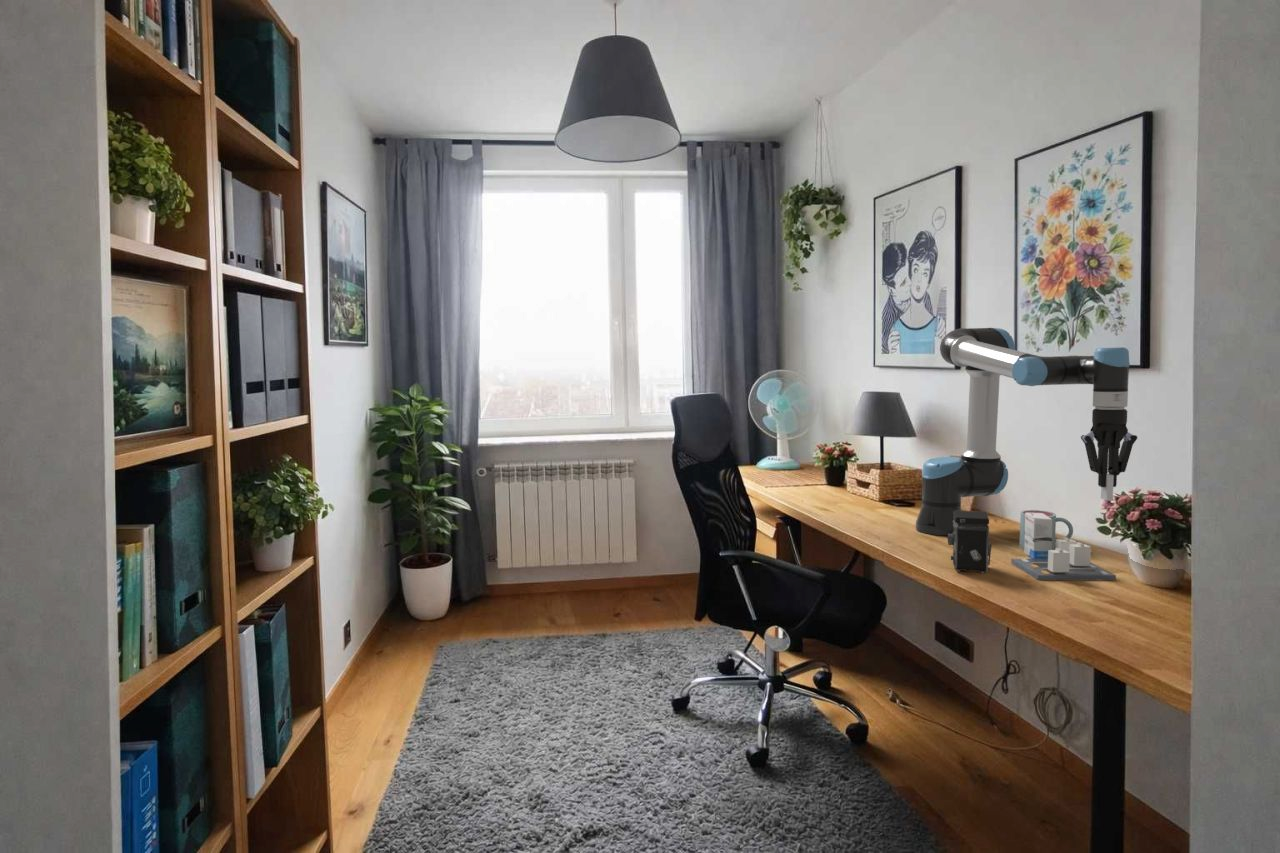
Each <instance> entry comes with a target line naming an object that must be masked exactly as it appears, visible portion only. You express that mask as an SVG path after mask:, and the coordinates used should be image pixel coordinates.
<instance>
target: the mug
mask: <svg viewBox="0 0 1280 853" xmlns="http://www.w3.org/2000/svg"><path fill="white" fill-rule="evenodd" d="M1025 513H1043V514H1045V515H1046V516H1048V517H1049V518H1051V519H1052V550H1055V548H1056V539H1059V538H1058V537H1056V526H1057V525H1056V524H1057V523H1058V522H1060V523H1063V524H1065V525H1066V527H1067V528H1068V533H1067V535H1066V536H1065V537H1066V538H1068V539H1072V536H1073V534H1074V526H1073V525H1072V523H1071V521H1069V520H1068V519H1066V518H1064V517H1057V514H1056V513H1054V512H1051V511H1047V510H1046V511H1045V510H1038V509H1027V510H1021V511H1020V512H1019V514H1020V516H1019V517H1020V520H1019V521H1020V522H1019V545H1020V546H1019V547H1020V548H1023V549H1024V547H1025ZM1061 539H1063V537H1062V538H1061Z"/></svg>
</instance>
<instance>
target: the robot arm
mask: <svg viewBox="0 0 1280 853" xmlns="http://www.w3.org/2000/svg"><path fill="white" fill-rule="evenodd" d="M939 352H940V356H941V357H942V359H943V360H944V361H945V362H946V363H948V364H950V365H953V366H957V367H961V368H963V367H964V368H965V370H964V371H965V372H966V373H967V374H968V375H969V392H968V393H969V394H968V413H967V414H968V416H967V434H966V435H967V436H966V449H965V450H964V451H963V452H961V454H960V457H958V456H940V457H939V456H938V457H934V458H929V459H927V460H925V462H924V463H923V466H922V472H921V476H922V477H921V478H922V480H921V481H922V482H921V483H922V486H921V488H922V489H921V490H922V491H921V492H922V493H921V495H922V496H921V507H920V509H919V513H918V516H917V518H916V520H915V530H917V531H918V532H920V533H924V534H929V535H934V536H935V535H936V536H948V534H952V533H953V532H954V527H953V520H954V516H953V512H954V511H956V510H957V511H963V510H962V498H969V497H989V496H994V495H997V494H999V493H1001V492H1002V491H1003V490H1004V489H1005V488H1006V486H1007V484H1008V480H1009V469H1008V468H1007V465H1006V463H1005V462H1004V461H1003V460H1001V459H1002V458H1001V456H1002V455H1000V454H999V452H998V451H997V435H998V434H997V433H998V431H997V430H998V415H999V414H998V413H999V398H1000V396H999V395H1000V394H999V393H1000V380H1001V379H1000V377H1001V376H1003V377H1006V378H1011V379H1013V380H1014V381H1015V383H1016V384H1018V385H1020V386H1028V387H1035V386H1036V387H1037V386H1051V385H1052V386H1053V385H1054V386H1057V385H1058V386H1059V385H1063V386H1064V385H1093V387H1092V388H1093V389H1092V407H1093V410H1092V413H1091V414H1092V415H1091V416H1092V418H1091V419H1092V420H1091V422H1092V426H1091V428H1090V431H1089V432H1088V433H1087V434H1085V435H1084V434H1083V435H1081V436H1080V439H1081V441H1082V442H1083V443H1084V447H1085V451H1086V455H1087V461H1088V463H1089V469H1090V471H1091V472H1093V473H1097V475H1098V479H1097V485H1098V487H1100V488H1101V490H1100V499H1101V500H1104V501H1113V498H1114V497H1113V496H1114V488H1117V483H1118V482H1117V481H1118V480H1117V479H1118V476H1119V475H1120V474H1121V473H1125V472H1126V470H1127V466H1128V463H1129V459H1130V456H1131V453H1132V449H1133V446H1134V444H1135V443H1136V441H1137V440H1138V436H1137V435H1136V434H1135V435H1134V434H1132V433H1131V432H1129V429H1128V427H1127V423H1128V410H1127V409H1126V408H1127V407H1128V403H1129V402H1128V399H1129V373H1130V371H1129V370H1130V366H1131V363H1130V354H1129V352H1130V351H1129V349H1128V348H1126V347H1122V346H1121V347H1097V348H1095V349H1094V354H1093V355H1065V356H1064V355H1062V356H1041V355H1037V354H1036V355H1035V354H1032V353H1028V352H1024V351H1019V350H1016V345H1015V341H1014V338H1013V336H1012V335H1011V334H1010V332H1008V331H1007V330H1005V329H1003V328H1000V327H999V328H997V327H996V328H995V327H981V328H980V327H979V328H977V327H975V328H974V327H973V328H972V327H970V328H966V327H965V328H964V327H962V328H957V329H956V328H955V329H953V330H951V331H950V332H948V333H947V334H945V336H943V338H942V339H941V342H940V346H939ZM1094 407H1095V408H1094ZM1094 441H1096V442H1097V444H1096V445H1097V448H1096V445H1095V442H1094ZM1121 442H1122V444H1121Z"/></svg>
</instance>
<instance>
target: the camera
mask: <svg viewBox="0 0 1280 853" xmlns="http://www.w3.org/2000/svg"><path fill="white" fill-rule="evenodd" d="M953 516H954V520H953V527H954V532H953V533H952V534H948V535H947V545H948V546H952V547H953V548H952V555H950V561H952V564H953V568H954V570H956V571H957V572H958V571H959V572H960V571H969V572H971V571H972V572H981V574H984V573H987V572H988V570H989V569H988V568H989V566H990V565H991V564H990V563H991V555H992V553H991V552H992V544H991V543H990V527H989V524H990V519H989V517H988V515H987V512H986V511H978V510H977V511H976V510H975V511H974V510H962V511H957V510H956V511H954V512H953Z"/></svg>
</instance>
